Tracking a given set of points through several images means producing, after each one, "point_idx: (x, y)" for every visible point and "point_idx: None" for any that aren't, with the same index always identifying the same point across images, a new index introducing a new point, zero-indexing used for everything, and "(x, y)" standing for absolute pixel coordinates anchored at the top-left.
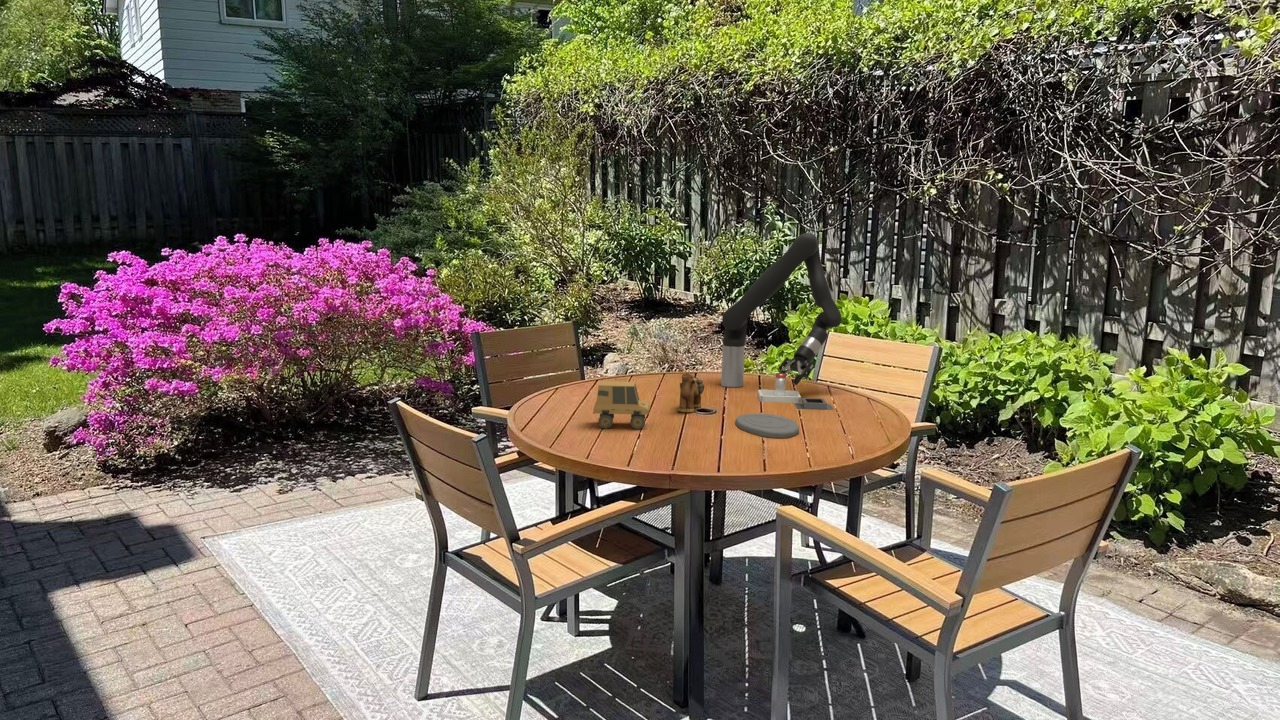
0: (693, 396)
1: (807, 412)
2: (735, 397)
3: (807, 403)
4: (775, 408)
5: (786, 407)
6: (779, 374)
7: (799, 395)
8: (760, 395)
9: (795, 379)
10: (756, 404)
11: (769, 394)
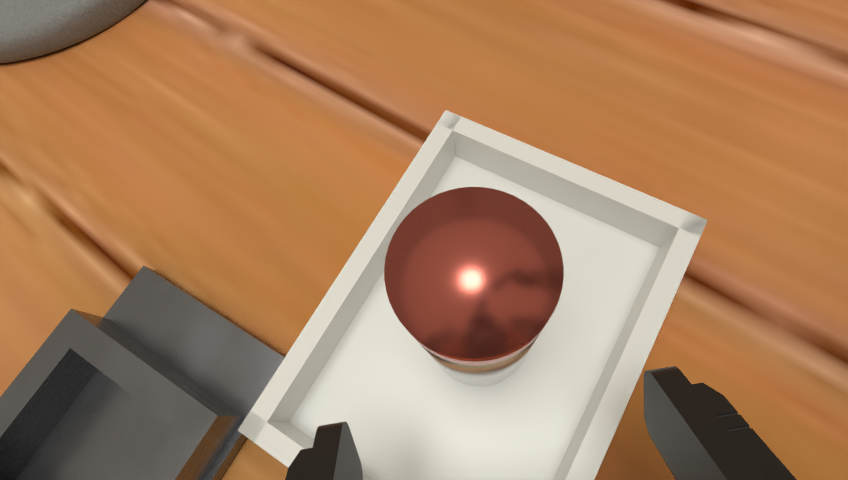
0: None
1: None
2: (705, 79)
3: (54, 330)
4: (289, 173)
5: (270, 261)
6: (433, 214)
7: None
8: (469, 120)
9: (310, 460)
10: None
11: (628, 319)
